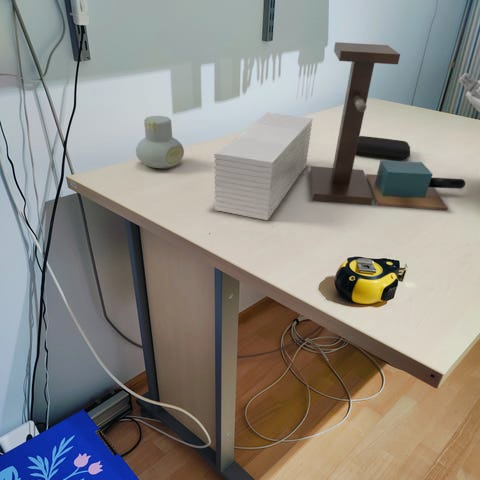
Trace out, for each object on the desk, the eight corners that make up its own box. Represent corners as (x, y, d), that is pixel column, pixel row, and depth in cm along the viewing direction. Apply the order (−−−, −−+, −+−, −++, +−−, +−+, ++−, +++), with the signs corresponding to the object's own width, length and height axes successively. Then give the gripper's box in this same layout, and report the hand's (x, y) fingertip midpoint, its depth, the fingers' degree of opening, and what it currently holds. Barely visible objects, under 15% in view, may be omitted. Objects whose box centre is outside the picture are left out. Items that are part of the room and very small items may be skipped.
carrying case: (408, 150, 114) (353, 143, 117) (411, 138, 113) (355, 132, 115) (408, 163, 107) (349, 155, 109) (412, 151, 105) (352, 143, 107)
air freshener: (161, 154, 104) (158, 111, 98) (189, 161, 101) (187, 117, 95) (131, 167, 97) (126, 121, 91) (160, 175, 94) (156, 128, 88)
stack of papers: (267, 220, 79) (272, 162, 72) (214, 210, 81) (214, 153, 74) (306, 165, 102) (312, 118, 95) (264, 159, 105) (267, 112, 98)
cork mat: (426, 180, 98) (427, 178, 97) (446, 210, 85) (447, 207, 85) (365, 176, 98) (366, 174, 98) (376, 205, 86) (377, 202, 86)
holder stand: (361, 174, 99) (390, 43, 83) (372, 207, 85) (410, 57, 69) (309, 170, 100) (328, 39, 83) (312, 202, 86) (336, 53, 69)
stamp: (455, 186, 94) (463, 164, 91) (467, 199, 89) (477, 176, 85) (374, 182, 94) (380, 160, 91) (382, 195, 88) (388, 172, 85)
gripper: (528, 155, 77) (476, 109, 73) (487, 125, 93) (442, 86, 89) (561, 124, 73) (508, 74, 69) (512, 99, 89) (467, 57, 85)
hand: (471, 81), depth 79 cm, fingers open, 8 cm apart
